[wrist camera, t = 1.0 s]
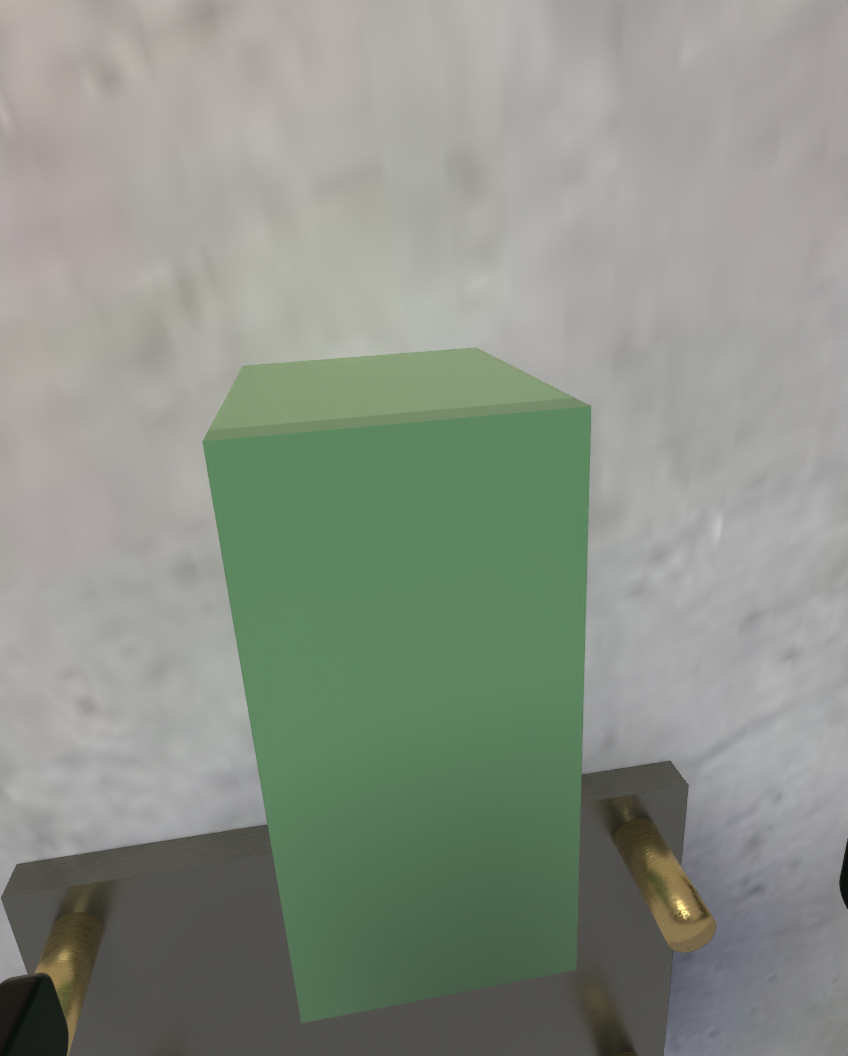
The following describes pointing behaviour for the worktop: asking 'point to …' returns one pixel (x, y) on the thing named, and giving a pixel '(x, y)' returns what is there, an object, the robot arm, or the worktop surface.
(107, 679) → the worktop surface
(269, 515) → the green rectangular block
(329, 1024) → the chassis plate
